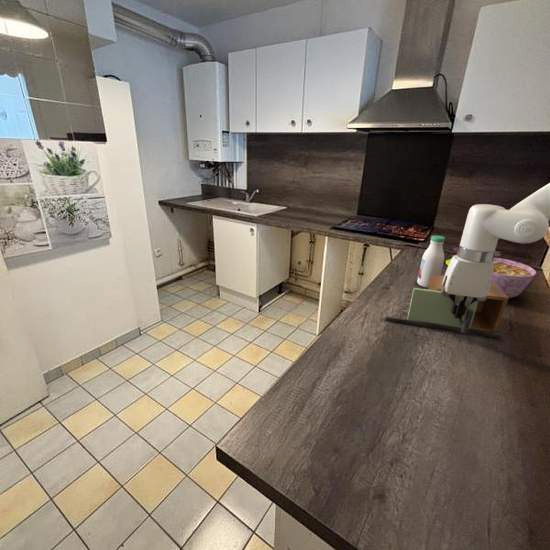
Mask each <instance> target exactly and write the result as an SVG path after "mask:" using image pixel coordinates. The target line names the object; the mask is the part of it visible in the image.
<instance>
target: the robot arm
mask: <svg viewBox="0 0 550 550" xmlns="http://www.w3.org/2000/svg"><path fill="white" fill-rule="evenodd" d="M467 212H468V213H467V216H466V220H465V224H464V228H463V232H462V235H461V239H460V243H459V244H460V245H458V248H459V250H458V253H457V255H455V254H453V255H452V258H450V259H451V261H450V263H449V265H447V268H446V270H445V273H444V275H443V276H444V279H443V283H442V286H443V288H442V290H441V295H442V296H445V297H449V298H450V299H451V300H452V301H453V306H452V309H451V313H452V314H453V316H454V318H459V319H462V316H463V315H465V312H466V309H467V307H468V306H470V304H472V303H474V302H476V301H485V300H486V296H487V295H488V293H489V290H490V286H491V282H492V277H493V269H494V262H493V261H492V260H493V258H500V257H501V252H500V251H497V250H496V248H497V245H498V240H499V239H501V240H505V241H509V242H512V243H518V244H531V243H535V242H537V241H539V240H542V239H543V238H544V237H545V236H546V234H547V233H548V232H549V229H550V223H549V222H550V182H549V183H548V184H546V185H544V186H543V187H541V188H539V189H538V190H535V192H533V193H531V194H530V195H528V196H527V197H525V198H524V199H522V200H521V201H519V202H518V203H516V204H515V205H514V206H512V207H511V208H510V209H506V208H505V207H503V206H500V205H495V204H488V203H481V204H474V205H472V206H471V207H470V208H469V210H468V211H467ZM446 279H447V280H446ZM461 296H464V297H463V299H462V301H460V297H461Z"/></svg>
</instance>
